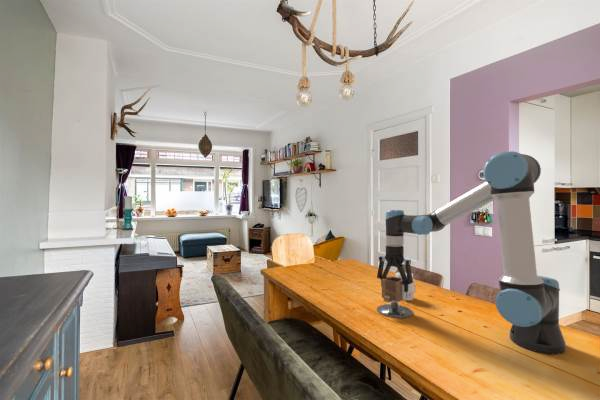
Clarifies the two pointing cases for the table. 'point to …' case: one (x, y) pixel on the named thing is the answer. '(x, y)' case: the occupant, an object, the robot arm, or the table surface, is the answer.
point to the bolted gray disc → (394, 310)
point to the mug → (410, 288)
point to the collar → (392, 289)
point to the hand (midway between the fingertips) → (394, 296)
